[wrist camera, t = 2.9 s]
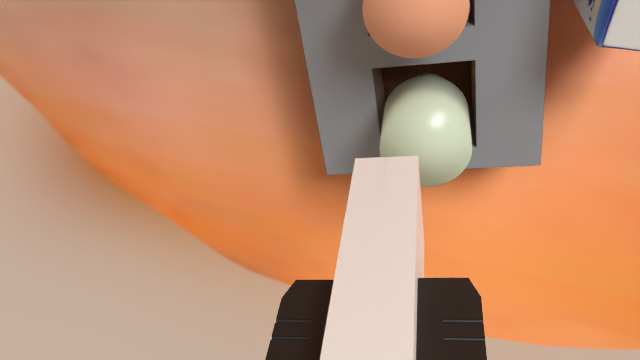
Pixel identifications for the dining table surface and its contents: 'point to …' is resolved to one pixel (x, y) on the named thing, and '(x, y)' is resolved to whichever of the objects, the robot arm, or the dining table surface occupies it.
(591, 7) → the medicine box
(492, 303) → the dining table surface
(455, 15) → the peach egg
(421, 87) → the pale green egg
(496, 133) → the grey slotted tray
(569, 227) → the dining table surface
